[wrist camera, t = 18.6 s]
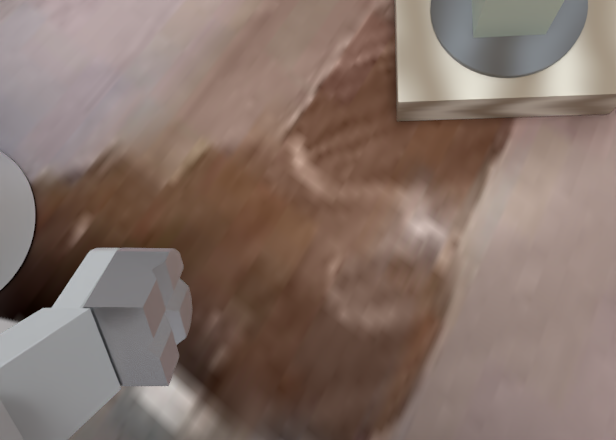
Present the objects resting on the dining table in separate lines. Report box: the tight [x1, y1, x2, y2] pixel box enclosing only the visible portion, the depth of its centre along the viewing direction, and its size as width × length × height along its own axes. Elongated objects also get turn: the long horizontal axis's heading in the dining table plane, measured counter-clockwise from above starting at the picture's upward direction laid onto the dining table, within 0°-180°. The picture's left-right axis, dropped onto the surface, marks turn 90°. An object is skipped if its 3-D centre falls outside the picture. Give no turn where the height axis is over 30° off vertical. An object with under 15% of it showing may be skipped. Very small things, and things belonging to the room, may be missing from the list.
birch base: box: [394, 0, 616, 121], centre depth 44 cm, size 16×14×5 cm
